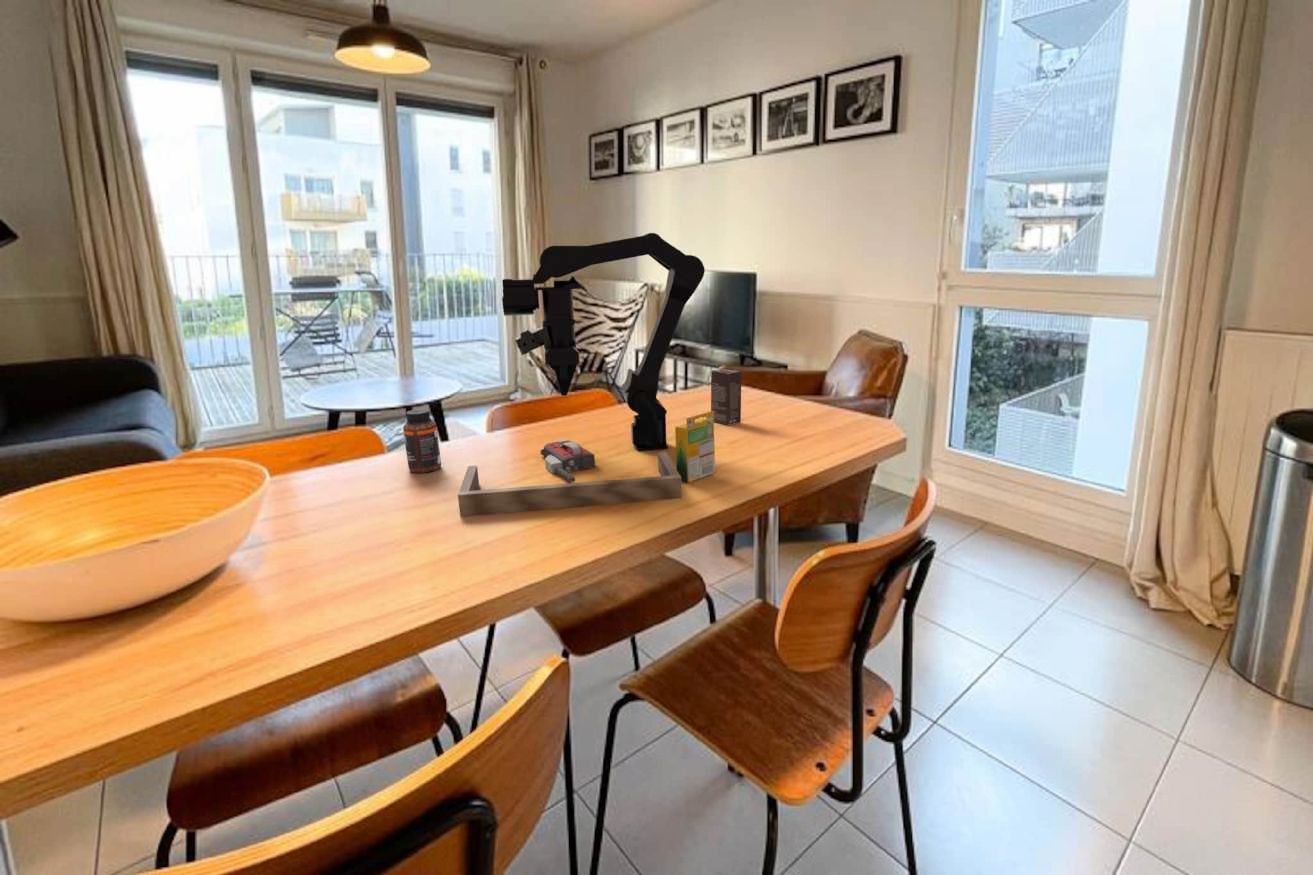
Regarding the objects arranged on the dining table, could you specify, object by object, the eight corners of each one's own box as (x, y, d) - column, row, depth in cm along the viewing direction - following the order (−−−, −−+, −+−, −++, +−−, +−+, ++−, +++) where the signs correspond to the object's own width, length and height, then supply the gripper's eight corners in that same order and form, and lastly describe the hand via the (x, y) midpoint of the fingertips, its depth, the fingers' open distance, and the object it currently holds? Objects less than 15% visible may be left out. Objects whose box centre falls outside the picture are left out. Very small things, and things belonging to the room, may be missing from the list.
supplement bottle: (448, 466, 128) (441, 408, 125) (426, 475, 123) (418, 416, 120) (424, 462, 131) (417, 406, 128) (401, 472, 126) (393, 413, 123)
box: (742, 422, 155) (742, 371, 151) (728, 426, 152) (728, 373, 149) (723, 417, 159) (723, 367, 156) (709, 421, 156) (709, 370, 153)
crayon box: (703, 469, 122) (702, 408, 119) (715, 473, 120) (715, 410, 117) (675, 479, 118) (674, 415, 114) (688, 483, 115) (687, 418, 112)
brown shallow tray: (666, 470, 123) (666, 452, 122) (681, 498, 109) (681, 477, 108) (470, 485, 118) (468, 466, 117) (460, 516, 104) (457, 495, 103)
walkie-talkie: (530, 459, 133) (567, 488, 116) (529, 438, 131) (566, 464, 114) (572, 452, 137) (613, 479, 120) (571, 431, 135) (612, 456, 118)
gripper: (517, 311, 136) (523, 386, 140) (513, 320, 118) (520, 406, 122) (572, 309, 138) (577, 383, 142) (576, 317, 120) (581, 402, 124)
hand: (563, 393), depth 132 cm, fingers open, 4 cm apart
